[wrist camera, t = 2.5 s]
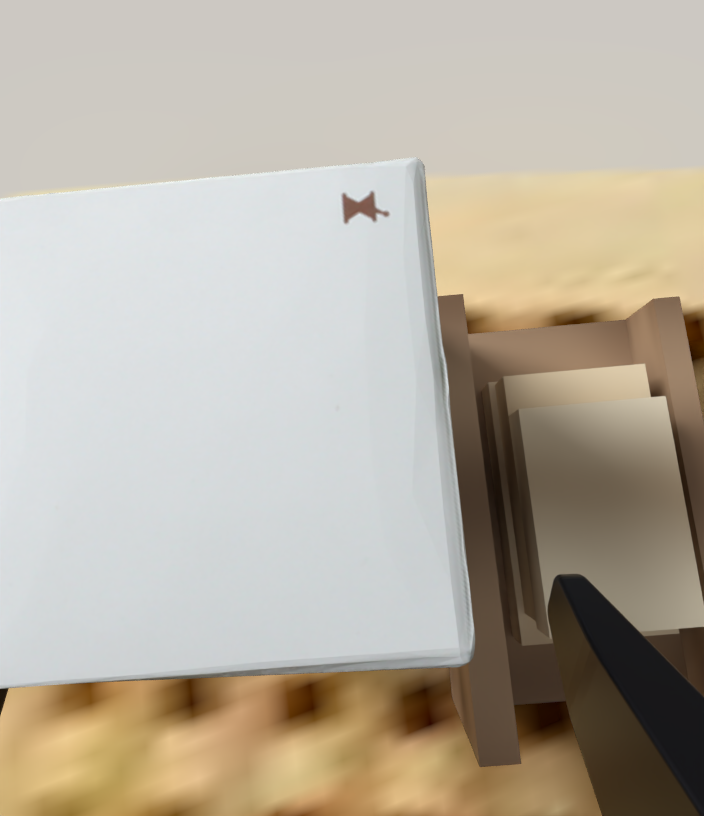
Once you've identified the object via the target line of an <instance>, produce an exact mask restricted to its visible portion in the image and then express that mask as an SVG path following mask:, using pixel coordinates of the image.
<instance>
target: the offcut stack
mask: <svg viewBox="0 0 704 816" xmlns="http://www.w3.org/2000/svg"><path fill="white" fill-rule="evenodd" d="M482 398H483V406H484V414H485V422H486V430H487V438H488V446H489V454H490V461H491V469H492V477H493V485H494V493H495V501H496V509H497V517H498V525H499V533H500V541H501V549H502V556H503V564H504V572H505V580H506V588H507V596H508V604H509V612H510V620H511V628H512V636H513V638H515V639H516V640H517V641H518V642H519V643H520V644H521V645H522V646H526V645H539V644H551V643H553V639H552V635H551V630H550V625H549V621H548V612H547V609H548V602H549V598H550V593H551V589H552V585H553V580H554V578H555V577H556V576H557V575H559V574H581V575H583V576H584V577H586V578H587V579H588V580H589V581H590V582H591V583H592V584H593V585H594V586H595V587H596V588H597V589H598V590H599V591H600V592H601V593H602V594H603V595H604V596H605V597H606V598H607V599H608V600H609V601H610V602H611V603H612V604H613V605H614V606H615V607H616V608H617V609H618V610H619V611H620V612H621V613H622V614H623V615H624V616H625V617H626V618H627V620H628V621H629V622H630V623H631V624H632V625H633V626H634V627H635V628H636V629H637V630H638V631H639V632H640V633H641V634H642V635H643V636H654V635H666V634H679V629H681V628H694V627H704V602H703V597H702V591H701V586H700V581H699V575H698V570H697V564H696V559H695V553H694V548H693V542H692V537H691V532H690V526H689V521H688V515H687V510H686V504H685V499H684V493H683V488H682V483H681V477H680V472H679V466H678V461H677V455H676V450H675V444H674V439H673V434H672V428H671V423H670V417H669V412H668V406H667V401H666V396H659V397H651V395H650V389H649V384H648V378H647V372H646V367H645V364H635V365H624V366H613V367H602V368H591V369H580V370H569V371H558V372H547V373H536V374H525V375H514V376H503V377H502V378H501V379H500V380H499V381H498V382H488V383H487V384H486V386H485V387H484V388H483V389H482Z"/></svg>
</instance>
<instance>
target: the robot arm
mask: <svg viewBox="0 0 704 816" xmlns="http://www.w3.org/2000/svg"><path fill="white" fill-rule="evenodd" d="M547 612H548V621H549V625H550V630H551V635H552V639H553V644H554V648H555V653H556V658H557V662H558V667H559V671H560V676H561V680H562V685H563V690H564V694H565V699H566V703H567V707H568V711H569V715H570V719H571V722H572V725H573V729H574V732H575V735H576V738H577V741H578V744H579V747H580V750H581V753H582V756H583V759H584V762H585V765H586V768H587V771H588V774H589V777H590V780H591V783H592V786H593V789H594V792H595V795H596V798H597V801H598V804H599V807H600V810H601V813H602V816H704V696H703V695H702V694H701V693H700V692H699V691H698V690H697V689H696V688H695V687H694V686H693V685H692V684H691V683H690V682H689V681H688V680H687V679H686V678H685V677H684V676H683V675H682V674H681V673H680V672H679V671H678V670H677V669H676V668H675V667H674V666H673V665H672V664H671V663H670V662H669V661H668V660H667V659H666V658H665V657H664V656H663V655H662V654H661V653H660V652H659V651H658V650H657V649H656V648H655V647H654V646H653V645H652V644H651V643H650V642H649V641H648V640H647V639H646V638H645V637H644V636H643V635H642V634H641V633H640V632H639V631H638V630H637V629H636V628H635V627H634V626H633V625H632V624H631V623H630V622H629V621H628V620H627V618H626V617H625V616H624V615H623V614H622V613H621V612H620V611H619V610H618V609H617V608H616V607H615V606H614V605H613V604H612V603H611V602H610V601H609V600H608V599H607V598H606V597H605V596H604V595H603V594H602V593H601V592H600V591H599V590H598V589H597V588H596V587H595V586H594V585H593V584H592V583H591V582H590V581H589V580H588V579H587V578H586V577H584V576H583V575H581V574H559V575H557V576H556V577H555V578H554V580H553V585H552V589H551V593H550V598H549V602H548V609H547ZM7 692H8V688H3V689H0V715H1V712H2V708H3V705H4V702H5V698H6V695H7Z"/></svg>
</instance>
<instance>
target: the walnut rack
mask: <svg viewBox="0 0 704 816" xmlns="http://www.w3.org/2000/svg"><path fill="white" fill-rule="evenodd" d="M438 306H439V316H440V325H441V334H442V343H443V348H444V353H445V358H446V363H447V371H448V383H449V396H450V410H451V421H452V430H453V439H454V449H455V458H456V468H457V477H458V486H459V495H460V504H461V513H462V522H463V531H464V540H465V549H466V558H467V567H468V576H469V584H470V594H471V603H472V612H473V621H474V631H475V650H474V655H473V658H472V660H471V661H470V662H469V663H468V664H466V665H464V666H461V667H450V668H449V671H450V680H451V690H452V699H453V701H454V704H455V706H456V709H457V711H458V714H459V716H460V719H461V721H462V724H463V726H464V729H465V731H466V734H467V736H468V739H469V741H470V744H471V746H472V749H473V751H474V754H475V756H476V759H477V761H478V764H479V766H480V767H486V766H500V765H513V764H521V758H520V750H519V742H518V734H517V726H516V718H515V710H514V705H521V704H534V703H547V702H561V701H566V699H565V694H564V690H563V685H562V680H561V676H560V671H559V667H558V662H557V658H556V653H555V648H554V644H553V643H551V644H539V645H526V646H522V645H521V644H520V643H519V642H518V641H517V640H516V639H515V638H513V636H512V628H511V620H510V612H509V604H508V596H507V588H506V580H505V572H504V564H503V556H502V549H501V541H500V533H499V525H498V517H497V509H496V501H495V493H494V485H493V477H492V469H491V461H490V454H489V446H488V438H487V430H486V422H485V414H484V406H483V398H482V389H483V388H484V387H485V386H486V384H487V383H488V382H498V381H499V380H500V379H501V378H502V377H503V376H514V375H525V374H536V373H547V372H558V371H569V370H580V369H591V368H602V367H613V366H624V365H635V364H645V367H646V372H647V378H648V384H649V389H650V395H651V397H659V396H666V401H667V406H668V412H669V417H670V423H671V428H672V434H673V439H674V444H675V450H676V455H677V461H678V466H679V472H680V477H681V483H682V488H683V493H684V499H685V504H686V510H687V515H688V521H689V526H690V532H691V537H692V542H693V548H694V553H695V559H696V564H697V570H698V575H699V581H700V586H701V591H702V597H703V602H704V421H703V416H702V411H701V406H700V400H699V395H698V390H697V385H696V380H695V375H694V370H693V364H692V359H691V354H690V349H689V344H688V339H687V333H686V328H685V323H684V318H683V313H682V308H681V303H680V297H669V298H658V299H652V300H651V301H650V302H649V303H647V304H646V305H645V306H643V307H642V308H641V309H639V310H638V311H637V312H635V313H634V314H633V315H631V316H630V317H629V318H627V319H626V320H618V321H607V322H596V323H586V324H575V325H564V326H553V327H543V328H532V329H521V330H510V331H499V332H489V333H478V334H468V332H467V323H466V315H465V307H464V299H463V294H459V295H448V296H438ZM644 637H645V638H646V639H647V640H648V641H649V642H650V643H651V644H652V645H653V646H654V647H655V648H656V649H657V650H658V651H659V652H660V653H661V654H662V655H663V656H664V657H665V658H666V659H667V660H668V661H669V662H670V663H671V664H672V665H673V666H674V667H675V668H676V669H677V670H678V671H679V672H680V673H681V674H682V675H683V676H684V677H685V678H686V679H687V680H688V681H689V682H690V683H691V684H692V685H693V686H694V687H695V688H696V689H697V690H698V691H699V692H700V693H701V694H702V695H703V696H704V627H694V628H681V629H679V634H666V635H654V636H644Z"/></svg>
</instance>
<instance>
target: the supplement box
mask: <svg viewBox="0 0 704 816" xmlns="http://www.w3.org/2000/svg"><path fill="white" fill-rule="evenodd" d="M474 650H475V631H474V621H473V612H472V603H471V594H470V584H469V576H468V567H467V558H466V549H465V540H464V531H463V522H462V513H461V504H460V495H459V486H458V477H457V468H456V458H455V449H454V439H453V430H452V421H451V410H450V396H449V383H448V371H447V363H446V358H445V353H444V348H443V343H442V334H441V325H440V316H439V306H438V297H437V288H436V279H435V269H434V259H433V249H432V240H431V230H430V221H429V212H428V202H427V191H426V180H425V171H424V164H423V163H422V162H421V160H419V159H418V158H417V157H413V158H404V159H397V160H389V161H380V162H372V163H364V164H349V165H338V166H329V167H328V166H327V167H316V168H306V169H295V170H285V171H275V172H265V173H255V174H246V175H235V176H223V177H211V178H202V179H193V180H185V181H174V182H163V183H152V184H141V185H131V186H121V187H112V188H102V189H92V190H82V191H73V192H63V193H49V194H43V195H27V196H19V197H10V198H1V199H0V689H3V688H16V687H30V686H44V685H57V684H75V683H93V682H114V681H138V680H163V679H187V678H211V677H234V676H258V675H281V674H304V673H327V672H351V671H374V670H397V669H420V668H450V667H461V666H464V665H466V664H468V663H469V662H470V661H471V660H472V658H473V655H474Z"/></svg>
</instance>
